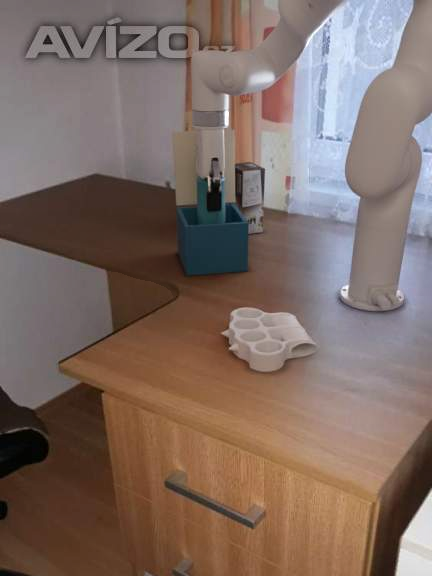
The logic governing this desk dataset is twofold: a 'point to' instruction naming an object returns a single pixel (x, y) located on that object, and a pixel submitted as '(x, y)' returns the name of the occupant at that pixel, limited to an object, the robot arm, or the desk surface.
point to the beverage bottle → (202, 212)
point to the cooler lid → (187, 172)
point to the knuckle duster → (267, 338)
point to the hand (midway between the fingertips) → (211, 205)
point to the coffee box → (250, 194)
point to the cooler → (212, 242)
